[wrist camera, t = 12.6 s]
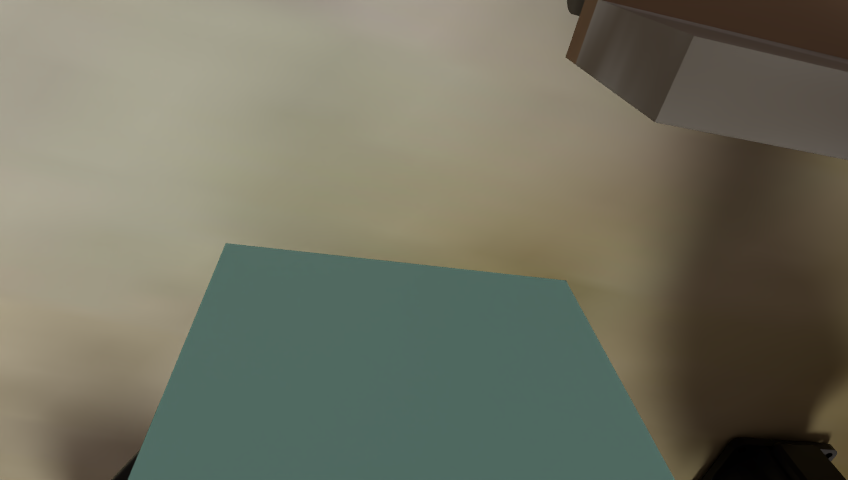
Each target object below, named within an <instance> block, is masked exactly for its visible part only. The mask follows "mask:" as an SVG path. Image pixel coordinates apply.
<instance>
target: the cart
mask: <svg viewBox="0 0 848 480" xmlns="http://www.w3.org/2000/svg"><path fill="white" fill-rule="evenodd" d="M567 5H568V10H569V12H570V13H571V14H574V15H578V16H579V19H578V22H577V25H576V28H575V31H574V34H573V37H572V40H571V43H570V46H569V49H568V52H567V55H566V58H567V59H569V60H570V61H572V62H573V63H574V64H576V65H577V66H578V67H580V68H581V69H583V70H584V71H585V72H587V73H588V74H589V75H591V76H592V77H594V78H595V79H596V80H598V81H599V82H600V83H602V84H603V85H605V86H606V87H607V88H609V89H610V90H611V91H613V92H614V93H616V94H617V95H618V96H620V97H621V98H622V99H624V100H625V101H627V102H628V103H629V104H631V105H632V106H633V107H635V108H636V109H638V110H639V111H640V112H642V113H643V114H644V115H646V116H647V117H648V118H650V119H651V120H653V121H654V122H656V123H661V124H666V125H672V126H677V127H682V128H687V129H692V130H697V131H702V132H707V133H713V134H718V135H723V136H728V137H733V138H738V139H743V140H748V141H753V142H759V143H764V144H769V145H774V146H779V147H784V148H789V149H794V150H799V151H805V152H810V153H815V154H820V155H825V156H830V157H835V158H840V159H845V160H848V0H567Z"/></svg>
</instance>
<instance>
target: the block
mask: <svg viewBox="0 0 848 480" xmlns="http://www.w3.org/2000/svg"><path fill="white" fill-rule="evenodd" d="M128 480H675V479H674V477H673V476H672V474H671V472H670V470H669V468H668V466H667V465H666V463H665V461H664V459H663V457H662V456H661V454H660V452H659V450H658V448H657V446H656V445H655V443H654V441H653V439H652V437H651V435H650V434H649V432H648V430H647V428H646V426H645V424H644V423H643V421H642V419H641V417H640V415H639V413H638V412H637V410H636V408H635V406H634V404H633V403H632V401H631V399H630V397H629V395H628V393H627V392H626V390H625V388H624V386H623V384H622V382H621V381H620V379H619V377H618V375H617V373H616V371H615V370H614V368H613V366H612V364H611V362H610V360H609V359H608V357H607V355H606V353H605V351H604V350H603V348H602V346H601V344H600V342H599V340H598V339H597V337H596V335H595V333H594V331H593V329H592V328H591V326H590V324H589V322H588V320H587V318H586V317H585V315H584V313H583V311H582V309H581V308H580V306H579V304H578V302H577V300H576V298H575V297H574V295H573V293H572V291H571V289H570V287H569V286H568V284H567V282H566V281H565V280H555V279H546V278H537V277H528V276H519V275H510V274H501V273H492V272H483V271H474V270H464V269H455V268H446V267H437V266H428V265H419V264H410V263H401V262H392V261H383V260H374V259H364V258H355V257H346V256H337V255H328V254H319V253H310V252H301V251H292V250H283V249H273V248H264V247H255V246H246V245H237V244H228V243H226V244H225V247H224V249H223V251H222V254H221V256H220V259H219V261H218V264H217V266H216V268H215V271H214V273H213V276H212V278H211V280H210V283H209V285H208V288H207V290H206V292H205V295H204V297H203V300H202V302H201V304H200V307H199V309H198V312H197V314H196V317H195V319H194V321H193V324H192V326H191V329H190V331H189V333H188V336H187V338H186V341H185V343H184V345H183V348H182V350H181V353H180V355H179V358H178V360H177V362H176V365H175V367H174V370H173V372H172V374H171V377H170V379H169V382H168V384H167V386H166V389H165V391H164V394H163V396H162V398H161V401H160V403H159V406H158V408H157V411H156V413H155V415H154V418H153V420H152V423H151V425H150V427H149V430H148V432H147V435H146V437H145V439H144V442H143V444H142V447H141V449H140V452H139V454H138V456H137V459H136V461H135V464H134V466H133V468H132V471H131V473H130V476H129V478H128Z"/></svg>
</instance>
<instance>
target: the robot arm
mask: <svg viewBox="0 0 848 480" xmlns="http://www.w3.org/2000/svg"><path fill="white" fill-rule="evenodd" d="M139 452H140V450H139V451H138V452H137V454H136V455H135V456H134V457H133V458H132V459H131V460H130V461H129V462H128V463H127V464H126V465H125V466H124V467H123V468H122V469H121V470H120V471H119V472H118V473H117V475H116V476H115V477H114V478H113V479H112V480H128V478H129V476H130V473H131V471H132V468H133V466H134V464H135V461H136V459H137V456H138V454H139ZM836 455H837V451H836V450H835V449H834V448H833V447H832V446H831V445H830V444H824V443H809V442H794V441H780V440H765V439H750V438H738V439H735V440H733V441H732V442H731V443H729V445H728V446H727V447H726V449H725V450H724V451H723V453H722V454H721V455H720V456H719V458H718V459H717V460H716V462H715V463H714V464H713V466H712V467H711V468H710V470H709V471H708V472H707V473H706V475H705V476H704V477H703V479H702V480H846V479H845V478H844V477H843V476H842V474H841V473H840V472H839V471H838V470H837V468H836V467H835V466H834V465H833V464H832V463H831V461H832V459H833V458H834V457H835V456H836Z"/></svg>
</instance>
